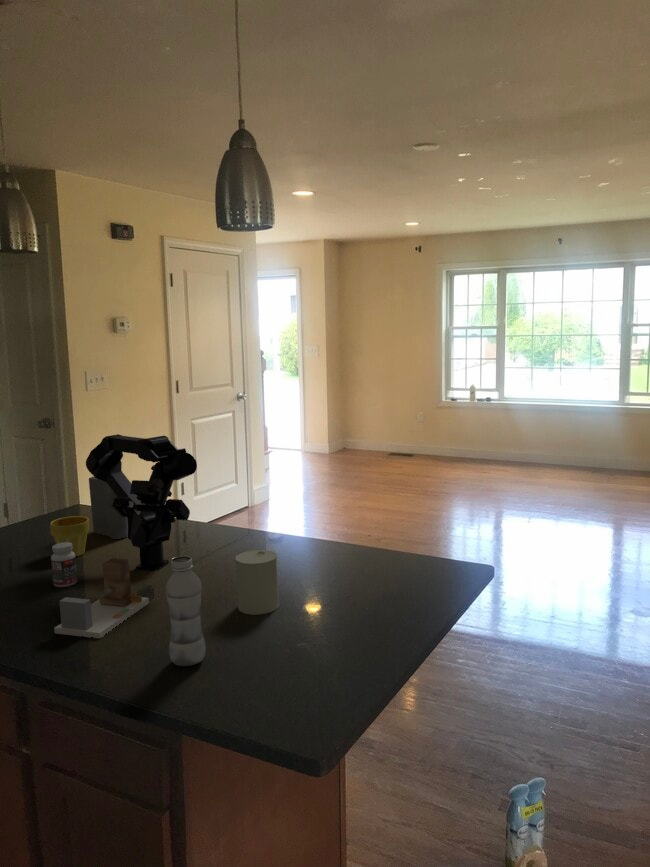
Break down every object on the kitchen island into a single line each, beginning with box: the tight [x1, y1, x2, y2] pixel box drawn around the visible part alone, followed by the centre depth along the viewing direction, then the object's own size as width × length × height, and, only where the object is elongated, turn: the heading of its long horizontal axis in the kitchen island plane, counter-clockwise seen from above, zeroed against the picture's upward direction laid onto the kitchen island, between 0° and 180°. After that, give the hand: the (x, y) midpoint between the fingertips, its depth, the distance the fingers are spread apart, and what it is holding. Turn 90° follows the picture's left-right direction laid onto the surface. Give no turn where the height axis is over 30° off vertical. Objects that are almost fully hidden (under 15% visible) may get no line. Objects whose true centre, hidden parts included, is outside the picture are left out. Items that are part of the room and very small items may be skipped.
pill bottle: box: [50, 542, 78, 588], centre depth 168 cm, size 6×6×10 cm
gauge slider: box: [99, 557, 142, 606], centre depth 151 cm, size 7×9×9 cm
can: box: [234, 549, 280, 616], centre depth 150 cm, size 9×9×12 cm
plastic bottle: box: [164, 555, 207, 667], centre depth 125 cm, size 6×7×20 cm
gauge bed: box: [53, 596, 150, 639], centre depth 147 cm, size 18×11×7 cm, turn 163°
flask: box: [88, 476, 128, 540], centre depth 208 cm, size 15×6×20 cm, turn 49°
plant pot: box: [49, 515, 90, 558], centre depth 191 cm, size 10×10×10 cm
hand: (139, 539), depth 161 cm, fingers open, 5 cm apart
